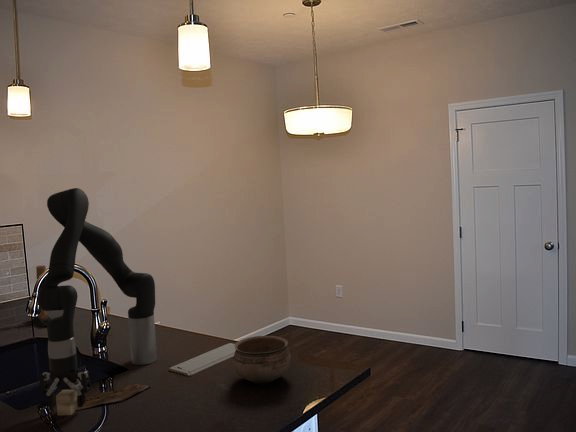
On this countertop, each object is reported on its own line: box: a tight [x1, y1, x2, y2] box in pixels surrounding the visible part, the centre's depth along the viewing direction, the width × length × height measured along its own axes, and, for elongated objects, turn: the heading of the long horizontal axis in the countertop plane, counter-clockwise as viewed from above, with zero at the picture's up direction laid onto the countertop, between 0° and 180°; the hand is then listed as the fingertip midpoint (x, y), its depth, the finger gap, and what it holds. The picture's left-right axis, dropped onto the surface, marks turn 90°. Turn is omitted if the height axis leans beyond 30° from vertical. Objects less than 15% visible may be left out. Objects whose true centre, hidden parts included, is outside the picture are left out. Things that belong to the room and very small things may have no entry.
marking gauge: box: [55, 389, 78, 416], centre depth 158 cm, size 12×4×6 cm, turn 176°
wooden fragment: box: [76, 383, 151, 411], centre depth 163 cm, size 26×11×1 cm, turn 125°
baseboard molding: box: [168, 342, 236, 378], centre depth 193 cm, size 31×3×12 cm
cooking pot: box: [232, 335, 292, 385], centre depth 171 cm, size 25×19×12 cm
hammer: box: [32, 265, 52, 328], centre depth 253 cm, size 20×5×30 cm, turn 42°
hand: (67, 406), depth 154 cm, fingers open, 8 cm apart
